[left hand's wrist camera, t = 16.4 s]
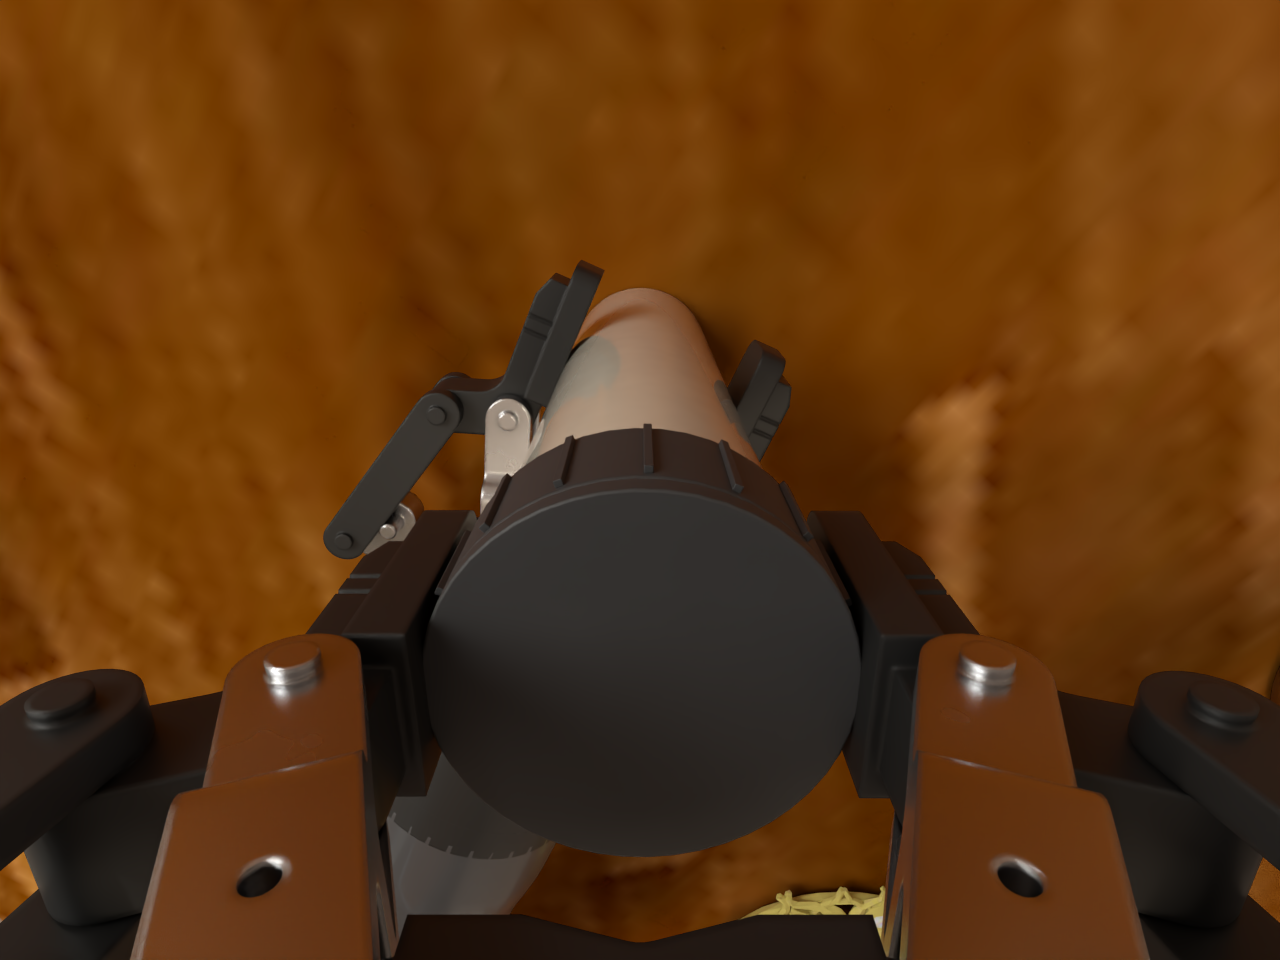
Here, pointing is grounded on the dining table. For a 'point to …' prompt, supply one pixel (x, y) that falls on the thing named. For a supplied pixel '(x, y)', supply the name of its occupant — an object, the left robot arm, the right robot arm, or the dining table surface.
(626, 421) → the bottle
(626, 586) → the lid
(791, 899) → the decorative object
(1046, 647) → the dining table surface
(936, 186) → the dining table surface
